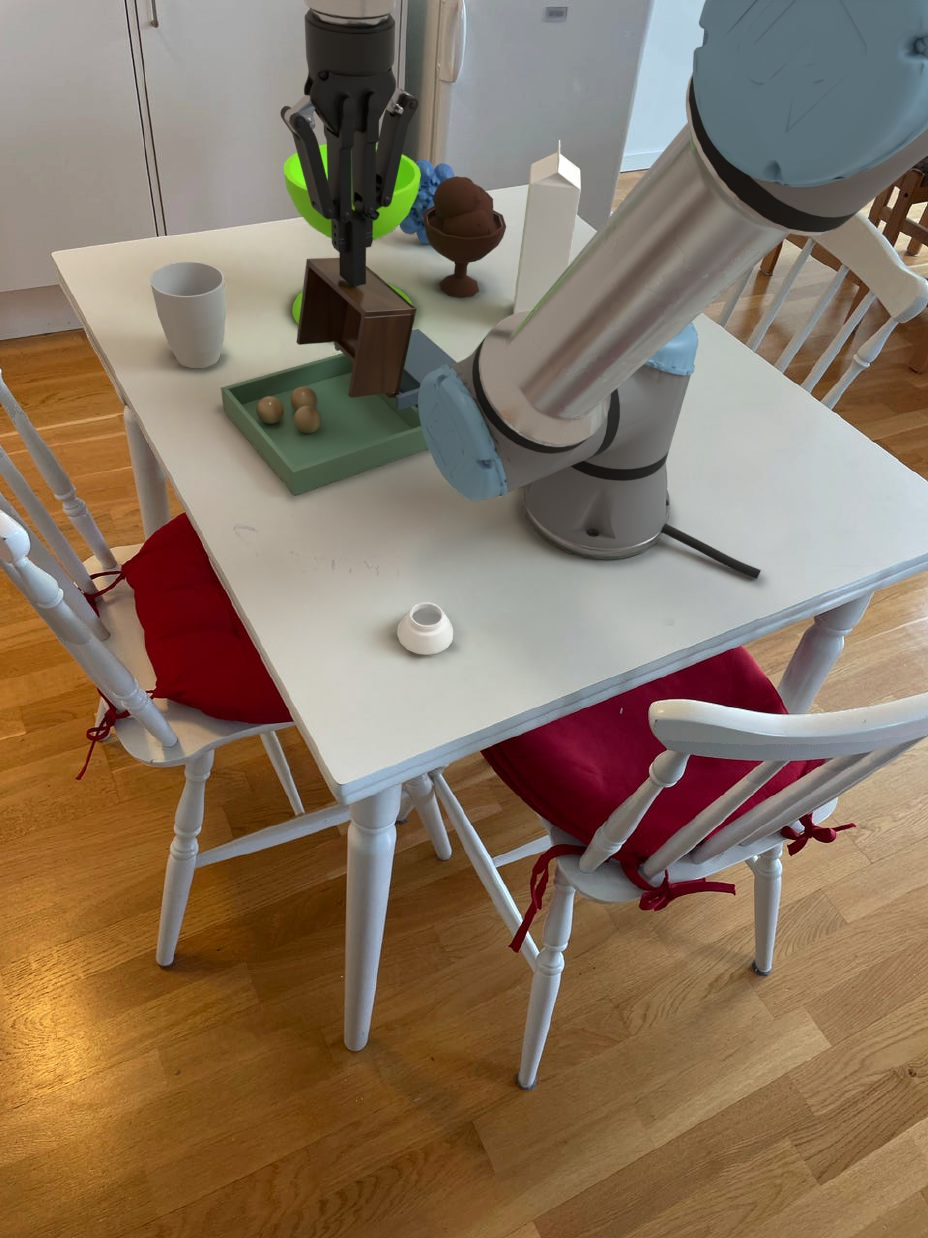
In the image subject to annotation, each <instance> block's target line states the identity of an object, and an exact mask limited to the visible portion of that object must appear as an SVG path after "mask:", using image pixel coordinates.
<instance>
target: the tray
mask: <svg viewBox="0 0 928 1238" xmlns="http://www.w3.org/2000/svg"><path fill="white" fill-rule="evenodd" d="M353 364H354V363H353V362H352V361H350V360H349V359H348V358H347V357H346V356H345V355H344V354H343V353H342V352H341V353H338V354H335V355H331V356H328V357H324V358H320V359H316V360H314V361H310V362H307V363H303V364H299V365H296V366H292V367H288V368H286V369H282V370H278V371H274V372H271V373H268V374H264V375H260V376H257V377H254V378H253V377H252V378H250V379H247V380H243V381H239V382H236V383H232V384H228V385H225V386H222V387H220V393H221V399H222V408H223V411H224V412H225V413H226V415H227V416H228V417H229V419H230V420H231V421H232V422H233V423H234V425H235V426H236V427H237V428H238V429H239V430H240V432H241V433H242V434H243V435H244V436H245V438H246V439H247V440H248V441H249V442H250V444H251V445H252V446H253V447H254V448H255V449H256V451H257V452H258V454H260V456H261V457H262V458H263V459H264V461H266V463H267V464H268V465H269V466H270V468H271V469H272V470H273V471H274V472H275V474H276V475H277V476H278V477H279V478H280V479H281V481H282V482H283V484H285V485H286V487H287V488H288V489H289V491H290V492H291V493H292V494H293V495H294V496H298V495H300V494H303V493H305V492H308V491H312V490H315V489H317V488H321V487H323V486H326V485H329V484H332V483H334V482H338V481H340V480H343V479H347V478H349V477H352V476H354V475H357V474H360V473H361V474H362V473H363V472H366V471H369V470H373V469H375V468H378V467H380V466H383V465H386V464H389V463H392V462H395V461H398V460H401V459H403V458H407V457H410V456H412V455H416V454H419V453H421V452H423V451H427V450H429V449H428V446H427V444H426V441H425V438H424V435H423V432H422V427H421V422H420V418H419V411H418V408H417V407H416V406H415V405H414V406H411V407H407V408H404V409H401V410H397V409H396V408H395V398H389V397H387V396H386V395H385V394H378V395H369V396H361V397H353V398H351V397H350V396H349V395H348V394H349V388H350V382H351V376H352V370H353ZM301 386H306V387H309V388H311V389H312V390H313V391H314V392H315V393H316V395H317V406H316V409H317V410H318V411H319V413H320V415H321V419H322V421H321V425H320V427H319V429H318V430H317V431H316V432H314V433H310V434H306V433H303V432H301V431H299V430H298V429H297V428H296V426H295V424H294V415H295V413H296V410H294V408H293V407H292V405H291V402H290V397H291V394H292V392H293V391H294V390H295V389H296V388H298V387H301ZM399 393H400V394H402V393H401V392H400V391H399ZM267 396H272V397H275V398H277V399H279V400H280V401H281V403H282V404H283V407H284V415H283V417H282V419H281V420H280V421H279V422H277V423H275V424H267V423H264V422H263V421H261V420H260V419H259V417H258V415H257V412H256V407H257V404H258V402H259V401H260V400H261V399H262V398H264V397H267Z"/></svg>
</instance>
